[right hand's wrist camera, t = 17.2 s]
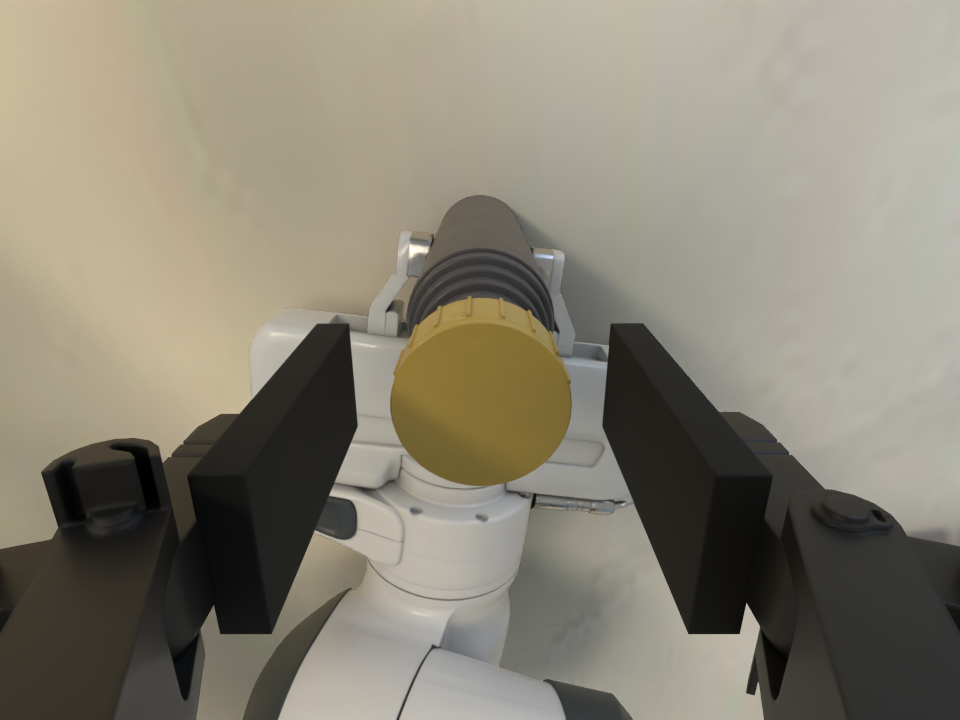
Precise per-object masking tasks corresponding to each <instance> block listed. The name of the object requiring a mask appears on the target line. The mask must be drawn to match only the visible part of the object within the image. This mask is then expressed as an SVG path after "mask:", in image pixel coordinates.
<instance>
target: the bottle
mask: <svg viewBox="0 0 960 720" xmlns="http://www.w3.org/2000/svg"><path fill="white" fill-rule="evenodd" d="M469 296H471V298H492V299H497V300H499V298H503V301H505V302H509V303H512V304H514V305H516V306H518V307H521V308H522V309H524V310H526V311H528V310H530V311H531V312H532V315H533V316H534V317H535V318H536V319H538V320H539V321H540V323H541V324H542V325H543V326H544V327H545V328H546V330H547V331H548V332H549V331H551V332H552V334H553V329H554V307H553V303H552V299H551V296H550V293H549V290H548V288H547V286H546V283H545V281H544V279H543V277H542V274H541V272H540V270H539V267H538V265H537V263H536V261H535V258H534V256H533V254H532V251H531V249H530V247H529V245H528V242H527V240H526V238H525V235H524V233H523V231H522V229H521V226H520V224H519V222H518V220H517V218H516V216H515V214H514V213H513V211H512V210H511V209H510V208H509V207H508V206H507V205H506V204H505V203H503V202H502V201H500V200H498V199H496V198H493V197H490V196H484V195H477V196H471V197H467V198H465V199H462V200H461V201H459V202H457V203H456V204H455V205H453V206H452V207H451V208H450V209H449V211H448V212H447V213H446V215H445V217H444V218H443V221H442V223H441V225H440V228H439V230H438V232H437V235H436V237H435V239H434V242H433V244H432V247H431V249H430V251H429V254H428V256H427V258H426V261H425V263H424V265H423V268H422V270H421V272H420V275H419V277H418V279H417V282H416V284H415V287H414V289H413V291H412V294H411V296H410V300H409V304H408V310H407V327H408V334H409V338H410V337H411V335H412V333H413V330H414V327H415V325H416V324H417V325H419V324H420V323H421V322H422V321H423V320H425V319H426V318H427V317H428V316H429V315H430V314H432V313H433V312H435V311H436V310H437V308H438V306H440V305H441V306H442V307H444V306H446V305H448V304H450V303H453V302H456V301H460V300H464V299H468V297H469Z"/></svg>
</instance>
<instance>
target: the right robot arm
mask: <svg viewBox="0 0 960 720" xmlns="http://www.w3.org/2000/svg"><path fill="white" fill-rule="evenodd" d="M357 427H358V422H357V410H356V398H355V386H354V375H353V363H352V351H351V339H350V328H349V323H317V324H316V325H315V326H314V328H313V329H312V330H311V331H310V332H309V334H308V335H307V336H306V337H305V338H304V339H303V341H302V342H301V343H300V344H299V345H298V346H297V348H296V349H295V350H294V351H293V352H292V353H291V355H290V356H289V357H288V358H287V359H286V360H285V362H284V363H283V364H282V365H281V366H280V367H279V369H278V370H277V371H276V372H275V373H274V374H273V376H272V377H271V378H270V379H269V380H268V381H267V383H266V384H265V385H264V386H263V387H262V388H261V390H260V391H259V392H258V393H257V394H256V395H255V397H254V398H253V399H252V400H251V401H250V402H249V404H248V405H247V406H246V407H245V408H244V409H243V411H242V412H241V413H240V414H220V415H218V416H217V417H215V418H213V419H211V420H209V421H208V422H206V423H204V424H202V425H200V426H198V427H197V428H196V429H195V430H194V431H193V432H192V433H191V435H190V436H189V437H188V438H187V439H186V440H185V441H184V444H183V445H180V446H179V447H178V448H177V449H176V450H175V451H174V452H173V453H172V457H168V458H167V460H166V461H165V462H164V463H162V459H161V455H160V450H159V446H157V445H156V444H154V443H153V442H151V441H149V440H143V439H136V438H129V439H113V440H109V441H104V442H99V443H94V444H91V445H88V446H85V447H82V448H79V449H76V450H74V451H71V452H69V453H67V454H65V455H63V456H62V457H60V458H58V459H56V460H54V461H53V462H51V463H50V464H49V465H48V466H47V467H46V468H45V469H44V470H43V471H42V472H41V473H42V477H43V480H44V483H45V486H46V489H47V492H48V496H49V499H50V502H51V505H52V508H53V511H54V515H55V518H56V521H57V524H58V529H57V531H56V533H55V535H54V537H53V538H52V539H51V540H47V541H41V542H36V543H31V544H26V545H20V546H15V547H10V548H4V549H0V720H196V716H197V709H198V702H199V694H200V687H201V680H202V672H203V665H204V658H205V651H204V644H203V639H202V635H201V630H200V628H201V627H202V625H203V623H204V621H205V619H206V618H207V616H208V614H209V612H210V611H211V609H212V607H213V605H214V606H215V611H216V616H217V621H218V625H219V630H220V634H272V632H273V629H274V627H275V624H276V622H277V620H278V617H279V615H280V612H281V610H282V608H283V605H284V603H285V600H286V598H287V596H288V593H289V591H290V588H291V586H292V584H293V581H294V579H295V576H296V574H297V571H298V569H299V567H300V564H301V562H302V559H303V557H304V555H305V552H306V550H307V547H308V545H309V543H310V540H311V538H312V535H313V533H314V531H315V528H316V526H317V523H318V521H319V519H320V516H321V514H322V511H323V509H324V507H325V504H326V502H327V499H328V497H329V495H330V492H331V490H332V487H333V485H334V483H335V480H336V478H337V475H338V473H339V471H340V468H341V466H342V463H343V461H344V459H345V456H346V454H347V451H348V449H349V447H350V444H351V442H352V439H353V437H354V435H355V432H356V430H357ZM602 427H603V430H604V432H605V435H606V437H607V439H608V442H609V444H610V447H611V449H612V451H613V454H614V456H615V459H616V461H617V463H618V466H619V468H620V471H621V473H622V475H623V478H624V480H625V483H626V485H627V487H628V490H629V492H630V495H631V497H632V499H633V502H634V504H635V507H636V509H637V511H638V514H639V516H640V519H641V521H642V523H643V526H644V528H645V531H646V533H647V535H648V538H649V540H650V543H651V545H652V547H653V550H654V552H655V555H656V557H657V559H658V562H659V564H660V567H661V569H662V571H663V574H664V576H665V579H666V581H667V584H668V586H669V588H670V591H671V593H672V596H673V598H674V600H675V603H676V605H677V608H678V610H679V612H680V615H681V617H682V620H683V622H684V624H685V627H686V629H687V632H688V634H740V630H741V625H742V621H743V616H744V611H745V606H746V602H747V604H748V606H749V608H750V609H751V611H752V613H753V615H754V616H755V618H756V620H757V622H758V623H759V625H760V630H759V635H758V639H757V644H756V648H755V652H754V657H753V661H752V666H751V670H750V674H749V679H748V684H747V691H746V693H747V694H751V695H755V691H756V687H757V683H758V682H759V685H760V693H761V700H762V707H763V715H764V720H960V546H954V545H949V544H944V543H939V542H933V541H928V540H923V539H917V538H912V537H908V536H907V535H906V534H905V532H904V530H903V528H902V526H901V525H900V524H899V523H898V522H897V521H896V520H895V519H894V517H893V516H892V515H891V514H889V513H888V512H886V511H885V510H883V509H882V508H880V507H879V506H877V505H876V504H874V503H872V502H869V501H867V500H864V499H862V498H860V497H857V496H855V495H852V494H848V493H843V492H839V491H835V490H827V489H824V488H823V487H822V486H821V485H820V484H819V483H818V482H817V481H816V480H815V478H814V477H813V476H812V475H811V474H810V473H809V472H808V471H807V470H806V469H805V468H804V467H803V466H802V465H801V464H800V463H799V462H798V461H797V460H796V459H795V458H794V457H793V456H792V455H789V452H788V451H787V450H786V449H785V448H784V446H783V445H782V444H781V443H777V439H776V438H775V437H774V436H773V435H772V434H771V433H770V432H769V431H768V430H767V429H766V428H765V427H764V426H763V425H762V424H760V423H758V422H756V421H755V420H753V419H751V418H749V417H747V416H746V415H744V414H742V413H740V412H718V411H717V409H716V408H715V407H714V406H713V405H712V404H711V402H710V401H709V400H708V399H707V398H706V397H705V395H704V394H703V393H702V392H701V391H700V390H699V388H698V387H697V386H696V385H695V384H694V383H693V381H692V380H691V379H690V378H689V377H688V376H687V374H686V373H685V372H684V371H683V370H682V369H681V367H680V366H679V365H678V364H677V363H676V362H675V360H674V359H673V358H672V357H671V356H670V355H669V353H668V352H667V351H666V350H665V349H664V348H663V346H662V345H661V344H660V343H659V342H658V341H657V339H656V338H655V337H654V336H653V335H652V334H651V332H650V331H649V330H648V329H647V328H646V326H645V325H644V324H643V323H611V328H610V339H609V351H608V363H607V375H606V386H605V398H604V410H603V422H602Z"/></svg>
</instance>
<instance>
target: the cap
mask: <svg viewBox="0 0 960 720" xmlns="http://www.w3.org/2000/svg"><path fill="white" fill-rule="evenodd" d="M559 355H560V354H559V351H558V348H557V345H556V343H555V340H554V337H553V334H552V332H551V331H549V332H548V331H547V330H546V328H545V327H544V326H543V325H542V324H541V323H540V321H539V320H538V319H536V318H535V317H534V316H533V315H532V312H531V311H530V310H528V311H526V310H524V309H522V308H521V307H518V306H516V305H514V304H512V303H509V302H505V301H503V298H499V300H497V299H492V298H471V296H469V297H468V299H464V300H460V301H456V302H453V303H450V304H448V305H446V306H444V307H442V306H441V305H440V306H438V308H437V310H436V311H435V312H433V313H432V314H430V315H429V316H428V317H427V318H426V319H425V320H423V321H422V322H421V323H420V324H419V325H417V324H416V325H415V327H414V330H413V333H412V335H411V337H410V338H409V340H408V343H407V345H406V347H405V350H402V351H401V353H400V356H399V359H398V362H397V364H396V367H395V370H394V373H393V375H394V376H395V379H394V382H393V386H392V390H391V397H390V411H391V418H392V422H393V426H394V429H395V432H396V434H397V436H398V438H399V440H400V442H401V443H402V445H403V447H404V448H405V450H406V451H407V452H408V453H409V454H410V456H411V457H412V458H413V459H414V460H415V461H416V462H417V463H419V464H420V465H421V466H422V467H423V468H425V469H426V470H428V471H429V472H431V473H433V474H435V475H436V476H438V477H440V478H443V479H445V480H448V481H451V482H454V483H458V484H463V485H470V486H493V485H499V484H504V483H508V482H511V481H514V480H517V479H519V478H521V477H524V476H526V475H528V474H529V473H531V472H533V471H534V470H536V469H537V468H538V467H540V466H541V465H542V464H544V463H545V462H546V461H547V460H548V459H549V458H550V457H551V456H552V455H553V453H554V452H555V451H556V449H557V448H558V447H559V445H560V444H561V442H562V440H563V438H564V436H565V434H566V432H567V429H568V426H569V422H570V418H571V411H572V395H571V390H570V385H569V384H571V380H570V378H569V375H568V372H567V369H566V367H565V364H564V361H563V359H562V357H560V356H559Z"/></svg>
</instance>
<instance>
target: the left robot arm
mask: <svg viewBox="0 0 960 720" xmlns="http://www.w3.org/2000/svg"><path fill="white" fill-rule="evenodd" d="M433 242H434V234H428V233H421V232H414V231H406V230H402V232H401V233H400V236H399V242H398V251H397V265H396V270H395V271H394V273H393V274H392V275H391V277H390V278H389V280H388V281H387V283H386V284H385V285H384V287H383V288H382V290H381V291H380V292H379V294H378V295H377V297H376V298H375V300H374V301H373V303H372V305H371V306H370V308H369V314H368V316H361V315H352V314H344V313H336V312H327V311H319V310H311V309H303V308H295V307H286V308H283V309H281V310H280V311H278V312H277V313H276V314H274V315H273V316H272V317H271V318H269V319H268V320H267V321H266V322H265V323H264V324H263V325H262V326H261V327H260V328H259V329H258V330H257V331H256V333H255V334H254V336H253V338H252V340H251V343H250V347H249V373H250V387H251V397H252V399H253V398H254V397H255V395H256V394H257V393H258V392H259V391H260V390H261V388H262V387H263V386H264V385H265V384H266V383H267V381H268V380H269V379H270V378H271V377H272V376H273V374H274V373H275V372H276V371H277V370H278V369H279V367H280V366H281V365H282V364H283V363H284V362H285V360H286V359H287V358H288V357H289V356H290V355H291V353H292V352H293V351H294V350H295V349H296V348H297V346H298V345H299V344H300V343H301V342H302V341H303V339H304V338H305V337H306V336H307V335H308V334H309V332H310V331H311V330H312V329H313V328H314V326H315V325H316V324H317V323H349V328H350V339H351V351H352V363H353V375H354V386H355V398H356V410H357V422H358V427H357V430H356V432H355V435H354V437H353V439H352V442H351V444H350V447H349V449H348V451H347V454H346V456H345V459H344V461H343V463H342V466H341V468H340V471H339V473H338V475H337V478H336V480H335V483H334V485H333V487H332V490H331V492H330V495H329V497H328V499H327V502H326V504H325V507H324V509H323V511H322V514H321V516H320V519H319V521H318V523H317V526H316V528H315V531H314V533H315V534H317V535H320V536H323V537H325V538H327V539H330V540H332V541H335V542H337V543H339V544H342V545H344V546H346V547H348V548H350V549H352V550H354V551H357V552H358V553H360V554H362V555H364V556H366V562H367V567H366V573H365V576H364V579H363V581H362V583H361V585H360V586H359V587H358V588H357V589H355V590H352V589H351V588H349V589H347V590H345V591H343V592H341V593H340V594H338V595H337V596H335V597H333V598H332V599H331V600H329V601H328V602H327V603H325V604H324V605H323V606H322V607H320V608H319V609H317V610H316V611H315V612H314V613H312V614H311V615H310V616H309V617H307V618H306V619H305V620H303V621H302V622H301V623H300V624H299V625H297V626H296V627H295V628H294V629H293V630H292V631H291V632H290V633H289V634H288V635H287V637H286V638H285V639H284V640H283V641H282V642H281V644H280V645H279V646H278V648H277V649H276V650H275V652H274V653H273V655H272V656H271V658H270V659H269V661H268V662H267V664H266V666H265V667H264V669H263V671H262V672H261V674H260V676H259V678H258V680H257V682H256V684H255V686H254V688H253V691H252V693H251V696H250V698H249V701H248V704H247V707H246V711H245V714H244V718H243V720H633V719H632V718H631V716H630V715H629V713H628V712H627V711H626V710H625V708H624V707H623V706H622V705H621V703H620V702H619V701H618V700H617V699H616V697H615V696H614V695H613V694H611V693H607V692H602V691H598V690H593V689H589V688H584V687H580V686H575V685H571V684H566V683H562V682H557V681H553V680H549V679H546V680H543V681H541V680H538V679H535V678H532V677H529V676H526V675H523V674H520V673H517V672H513V671H510V670H507V669H504V668H501V667H499V665H500V661H501V657H502V654H503V650H504V645H505V641H506V636H507V632H508V627H509V621H510V600H509V595H508V589H509V587H510V585H511V584H512V582H513V581H514V579H515V577H516V575H517V572H518V570H519V566H520V562H521V557H522V552H523V547H524V541H525V536H526V531H527V525H528V521H529V513H530V509H532V508H540V509H550V510H562V511H565V510H566V511H568V510H574V511H575V510H576V511H586V512H588V513H591V514H596V515H608V514H613V512H614V509H619V508H623V507H627V506H629V505H631V504H633V503H634V502H633V499H632V497H631V495H630V492H629V490H628V487H627V485H626V483H625V480H624V478H623V475H622V473H621V471H620V468H619V466H618V463H617V461H616V459H615V456H614V454H613V451H612V449H611V447H610V444H609V442H608V439H607V437H606V435H605V432H604V430H603V427H602V422H603V410H604V398H605V386H606V375H607V363H608V351H609V345H601V344H593V343H585V342H577V341H575V336H576V333H575V330H574V327H573V325H572V322H571V319H570V317H569V314H568V311H567V309H566V306H565V303H564V301H563V298H562V295H561V293H560V286H561V280H562V275H563V269H564V263H565V255H564V253H563V252H562V250H555V249H547V248H538V247H531V248H530V249H531V251H532V254H533V256H534V258H535V261H536V263H537V265H538V267H539V270H540V272H541V274H542V277H543V279H544V281H545V283H546V286H547V288H548V290H549V293H550V296H551V299H552V303H553V307H554V329H553V337H554V340H555V343H556V345H557V348H558V351H559V354H560V355H559V356H560V357H562V359H563V361H564V364H565V367H566V369H567V372H568V375H569V378H570V380H571V384H569V385H570V390H571V395H572V411H571V418H570V422H569V426H568V429H567V432H566V434H565V436H564V438H563V440H562V442H561V444H560V445H559V447H558V448H557V449H556V451H555V452H554V453H553V455H552V456H551V457H550V458H549V459H548V460H547V461H546V462H545V463H544V464H542V465H541V466H540V467H538V468H537V469H536V470H534V471H533V472H531V473H529V474H528V475H526V476H524V477H521V478H519V479H517V480H514V481H511V482H508V483H504V484H499V485H493V486H470V485H463V484H458V483H454V482H451V481H448V480H445V479H443V478H440V477H438V476H436V475H435V474H433V473H431V472H429V471H428V470H426V469H425V468H423V467H422V466H421V465H420V464H419V463H417V462H416V461H415V460H414V459H413V458H412V457H411V456H410V454H409V453H408V452H407V451H406V450H405V448H404V447H403V445H402V443H401V442H400V440H399V438H398V436H397V434H396V432H395V429H394V426H393V422H392V418H391V411H390V397H391V390H392V386H393V382H394V379H395V376H394V375H393V373H394V370H395V367H396V364H397V362H398V359H399V356H400V353H401V351H402V350H405V347H406V345H407V343H408V340H409V334H408V327H407V321H403V309H404V302H403V301H401V300H394V299H395V297H396V296H397V294H398V293H399V292H400V290H401V289H402V287H403V286H404V285H405V283H406V282H407V280H408V279H409V278H410V276H412V277H419V275H420V272H421V270H422V268H423V265H424V263H425V261H426V258H427V256H428V254H429V251H430V249H431V247H432V244H433ZM393 300H394V301H393ZM615 500H620V501H615Z"/></svg>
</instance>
